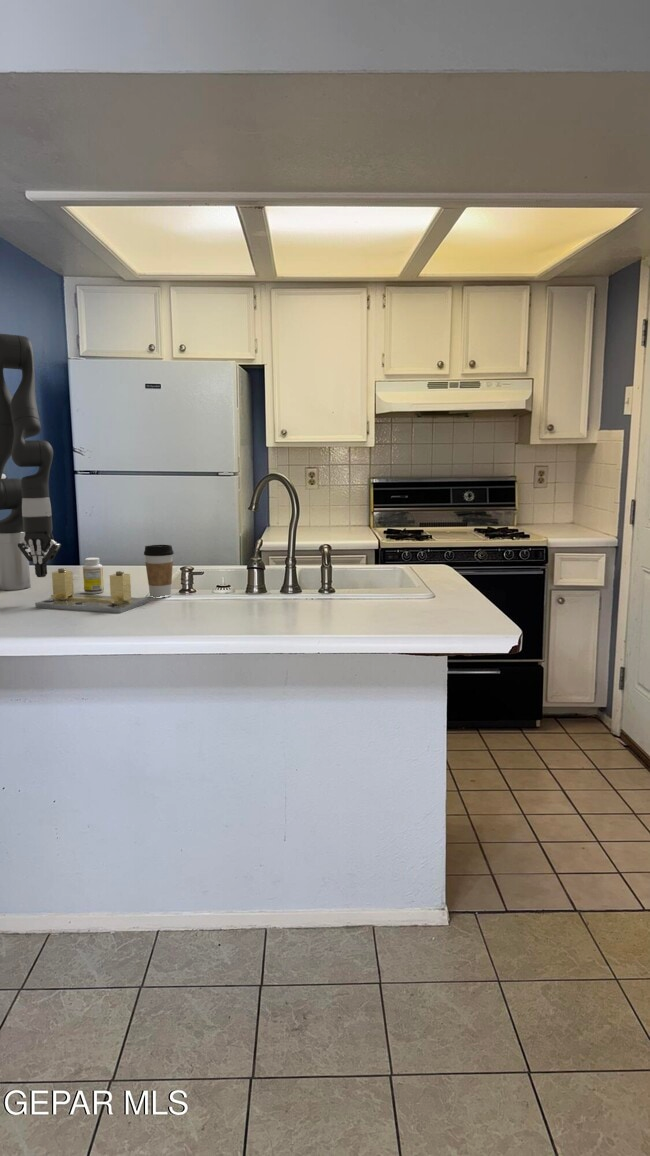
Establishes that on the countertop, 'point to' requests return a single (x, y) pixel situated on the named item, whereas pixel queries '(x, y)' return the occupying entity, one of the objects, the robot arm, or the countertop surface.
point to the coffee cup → (159, 569)
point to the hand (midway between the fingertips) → (41, 576)
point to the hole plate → (91, 604)
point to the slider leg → (62, 584)
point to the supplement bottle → (93, 576)
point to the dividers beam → (114, 590)
